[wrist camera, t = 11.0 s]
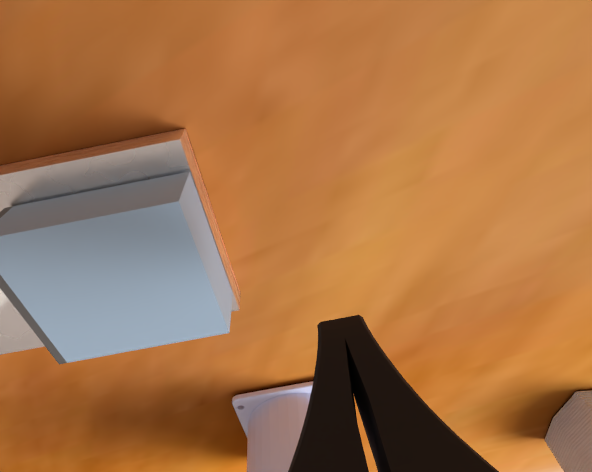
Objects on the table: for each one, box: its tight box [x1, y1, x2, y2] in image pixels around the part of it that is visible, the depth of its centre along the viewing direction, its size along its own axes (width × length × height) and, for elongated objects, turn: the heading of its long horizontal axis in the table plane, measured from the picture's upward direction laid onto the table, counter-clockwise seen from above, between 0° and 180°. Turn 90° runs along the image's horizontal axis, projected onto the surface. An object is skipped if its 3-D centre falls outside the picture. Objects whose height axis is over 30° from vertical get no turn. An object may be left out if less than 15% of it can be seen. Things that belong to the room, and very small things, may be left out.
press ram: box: [0, 172, 233, 364], centre depth 18 cm, size 7×8×3 cm
